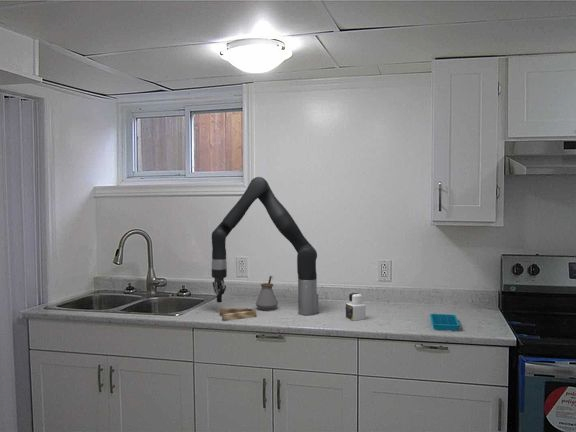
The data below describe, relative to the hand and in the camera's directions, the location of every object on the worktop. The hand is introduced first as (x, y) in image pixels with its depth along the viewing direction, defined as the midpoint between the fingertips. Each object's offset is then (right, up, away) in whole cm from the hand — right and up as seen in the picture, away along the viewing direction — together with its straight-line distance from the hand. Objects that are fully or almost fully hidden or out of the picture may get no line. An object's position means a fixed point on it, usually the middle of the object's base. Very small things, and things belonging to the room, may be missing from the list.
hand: (219, 302), depth 263 cm
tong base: (+11, -6, -12) cm, 17 cm away
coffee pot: (+24, -5, +12) cm, 28 cm away
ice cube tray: (+105, -7, -27) cm, 109 cm away
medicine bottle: (+67, -6, -14) cm, 69 cm away
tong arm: (+10, -5, -6) cm, 12 cm away
